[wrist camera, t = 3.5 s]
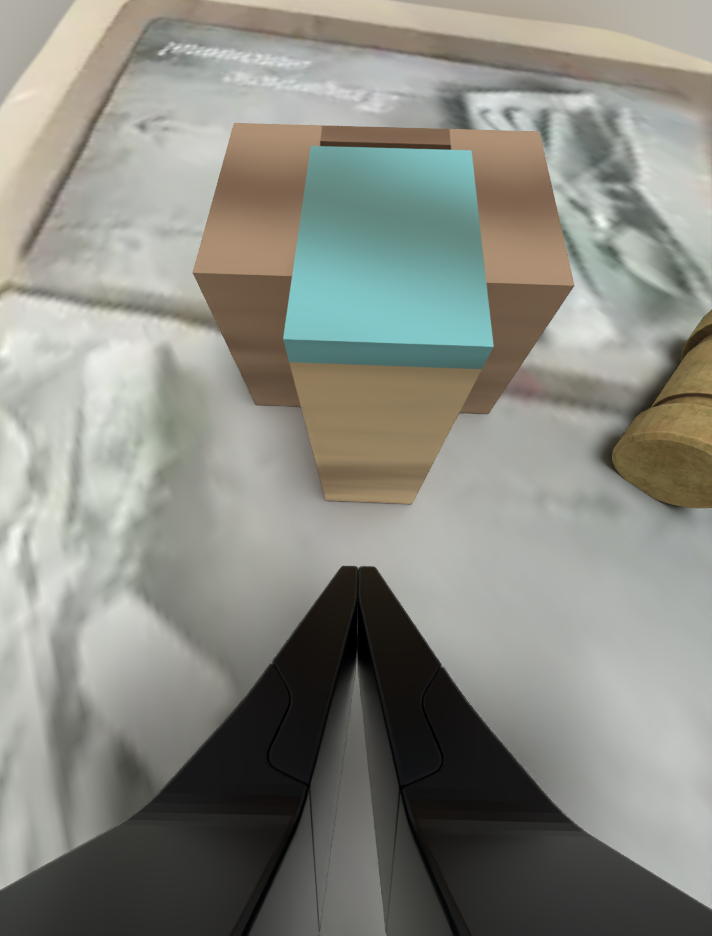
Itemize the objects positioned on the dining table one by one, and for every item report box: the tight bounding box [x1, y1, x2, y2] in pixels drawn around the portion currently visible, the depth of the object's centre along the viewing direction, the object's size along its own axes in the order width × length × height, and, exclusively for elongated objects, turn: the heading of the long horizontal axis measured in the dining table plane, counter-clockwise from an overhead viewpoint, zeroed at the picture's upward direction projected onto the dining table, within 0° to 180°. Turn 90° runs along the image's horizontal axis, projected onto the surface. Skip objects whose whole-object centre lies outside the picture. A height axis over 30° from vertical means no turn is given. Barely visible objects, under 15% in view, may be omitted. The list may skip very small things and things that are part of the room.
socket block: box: [193, 123, 574, 414], centre depth 17 cm, size 8×12×8 cm, turn 87°
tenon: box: [283, 146, 494, 504], centre depth 13 cm, size 6×4×11 cm, turn 177°
